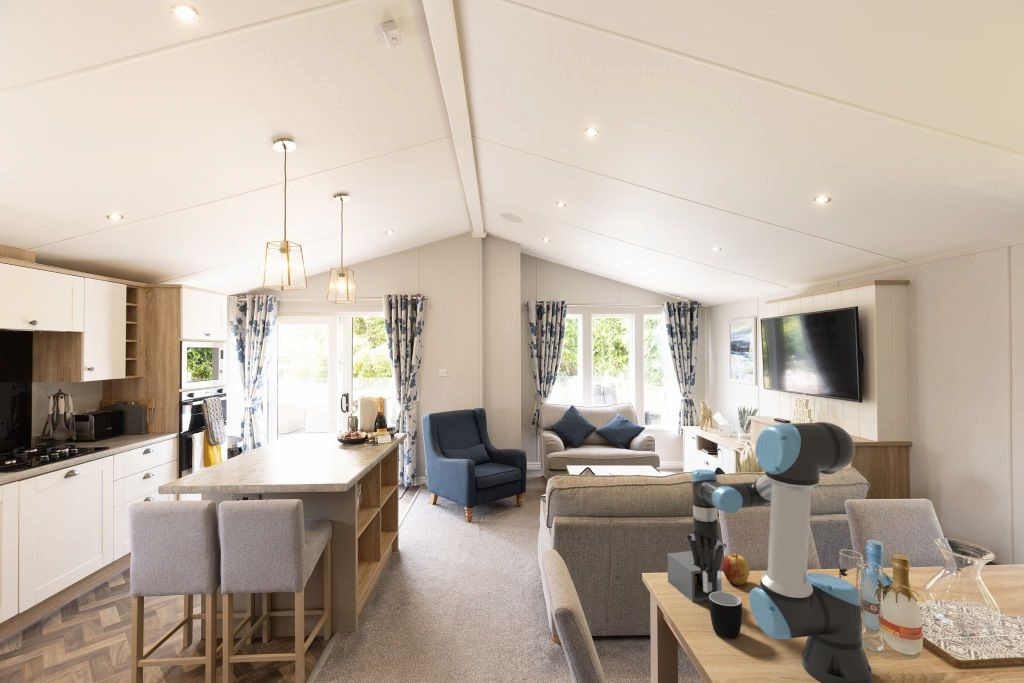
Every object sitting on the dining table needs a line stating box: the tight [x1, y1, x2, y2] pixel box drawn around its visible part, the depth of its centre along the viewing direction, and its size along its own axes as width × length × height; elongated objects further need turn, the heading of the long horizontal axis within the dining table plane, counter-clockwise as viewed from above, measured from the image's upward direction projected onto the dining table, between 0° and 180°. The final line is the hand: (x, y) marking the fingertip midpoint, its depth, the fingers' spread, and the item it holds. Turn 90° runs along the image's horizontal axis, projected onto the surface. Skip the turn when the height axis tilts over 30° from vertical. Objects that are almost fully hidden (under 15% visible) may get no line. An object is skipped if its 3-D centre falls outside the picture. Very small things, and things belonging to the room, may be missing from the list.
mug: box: [707, 591, 743, 640], centre depth 148 cm, size 12×9×10 cm
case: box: [666, 550, 718, 603], centre depth 175 cm, size 16×10×10 cm, turn 12°
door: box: [717, 570, 723, 592], centre depth 163 cm, size 2×10×9 cm, turn 156°
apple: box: [721, 553, 750, 586], centre depth 180 cm, size 9×9×10 cm
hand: (707, 590), depth 164 cm, fingers closed
